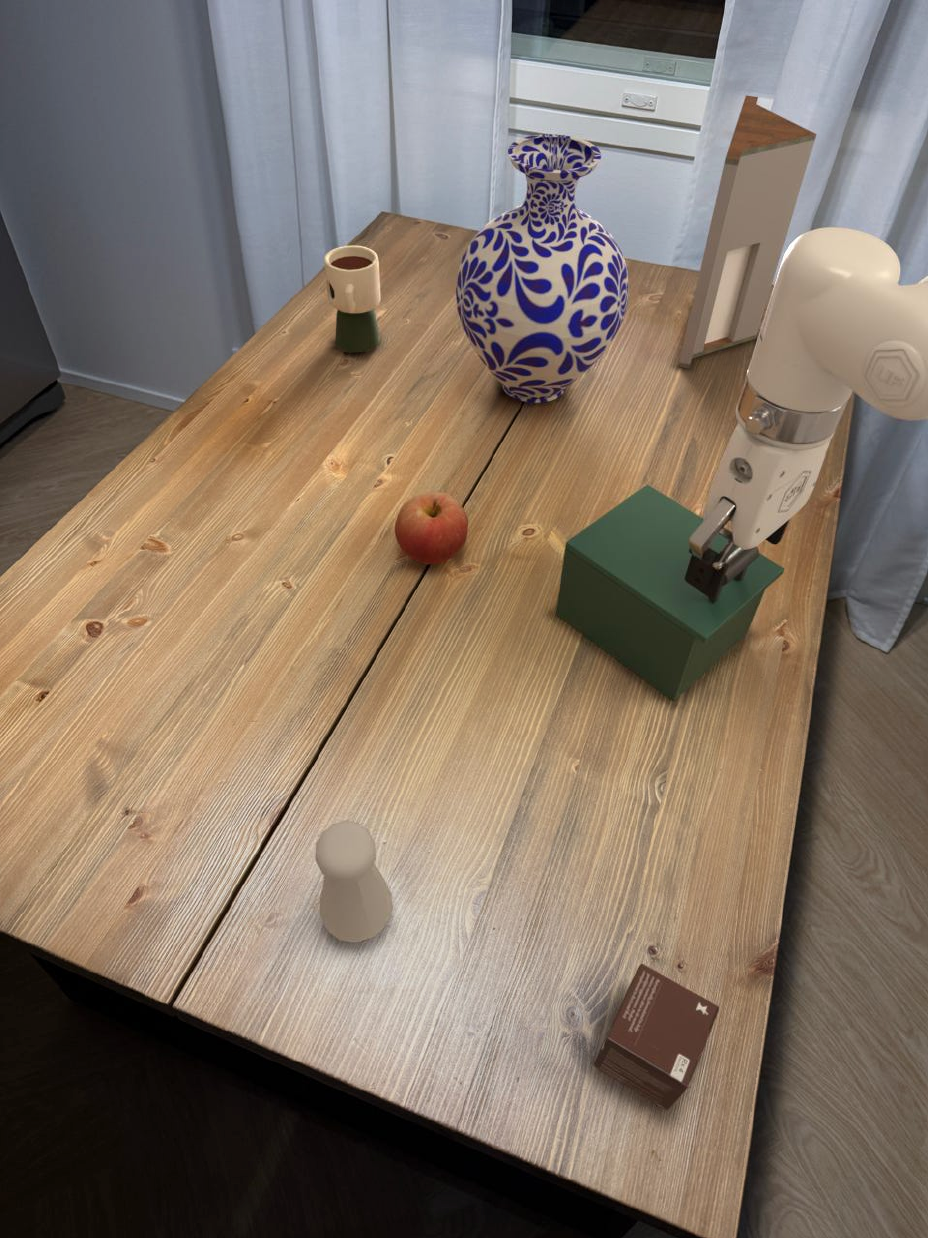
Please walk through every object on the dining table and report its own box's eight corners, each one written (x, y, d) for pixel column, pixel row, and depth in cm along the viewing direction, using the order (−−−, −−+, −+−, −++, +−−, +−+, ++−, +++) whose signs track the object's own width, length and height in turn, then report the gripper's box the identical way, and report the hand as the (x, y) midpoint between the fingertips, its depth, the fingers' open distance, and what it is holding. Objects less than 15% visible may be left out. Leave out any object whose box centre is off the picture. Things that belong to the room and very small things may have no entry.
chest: (747, 634, 93) (773, 569, 85) (673, 702, 87) (694, 638, 80) (630, 556, 100) (645, 490, 93) (555, 614, 94) (564, 548, 87)
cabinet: (699, 293, 138) (745, 95, 117) (762, 304, 136) (821, 105, 115) (678, 366, 125) (725, 157, 104) (747, 379, 123) (810, 169, 102)
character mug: (337, 323, 130) (328, 237, 121) (386, 325, 130) (381, 238, 121) (328, 366, 123) (319, 277, 114) (380, 367, 123) (374, 279, 114)
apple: (482, 545, 101) (484, 491, 95) (442, 588, 96) (442, 534, 90) (424, 517, 104) (423, 464, 98) (383, 558, 99) (379, 504, 93)
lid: (782, 574, 85) (798, 536, 81) (704, 644, 79) (717, 606, 75) (645, 489, 93) (654, 451, 89) (564, 547, 87) (570, 509, 83)
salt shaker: (342, 873, 75) (327, 795, 65) (404, 897, 74) (398, 821, 64) (309, 937, 71) (288, 864, 61) (374, 964, 70) (363, 894, 60)
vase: (606, 441, 114) (647, 205, 91) (440, 420, 116) (440, 184, 93) (617, 349, 127) (655, 124, 105) (469, 332, 130) (475, 108, 107)
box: (625, 994, 69) (641, 959, 63) (699, 1037, 67) (722, 1005, 61) (591, 1067, 65) (605, 1037, 60) (667, 1114, 63) (689, 1088, 58)
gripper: (768, 478, 61) (709, 635, 74) (893, 380, 69) (820, 537, 82) (681, 428, 65) (639, 586, 78) (809, 339, 73) (752, 497, 86)
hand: (732, 561), depth 80 cm, fingers open, 9 cm apart
